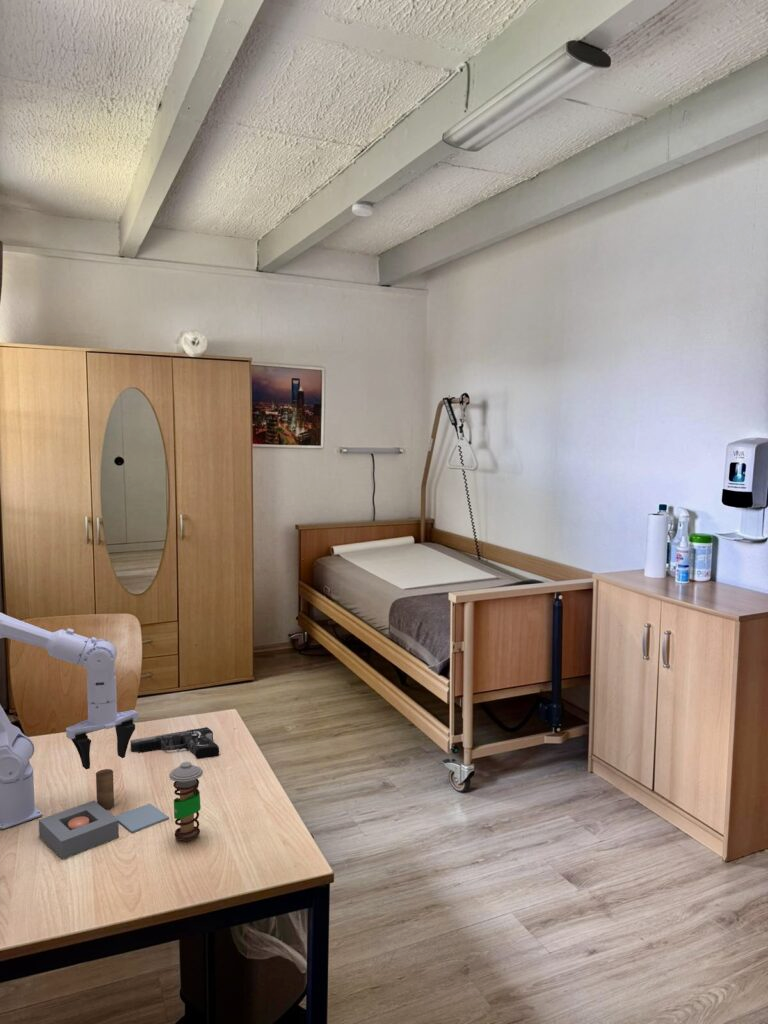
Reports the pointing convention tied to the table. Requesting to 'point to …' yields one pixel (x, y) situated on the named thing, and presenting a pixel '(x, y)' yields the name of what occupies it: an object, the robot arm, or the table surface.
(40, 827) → the frame
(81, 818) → the orange domed disc
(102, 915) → the table surface
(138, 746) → the handgun
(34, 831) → the table surface
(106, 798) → the dowel
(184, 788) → the shock absorber
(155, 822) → the mat
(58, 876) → the table surface
